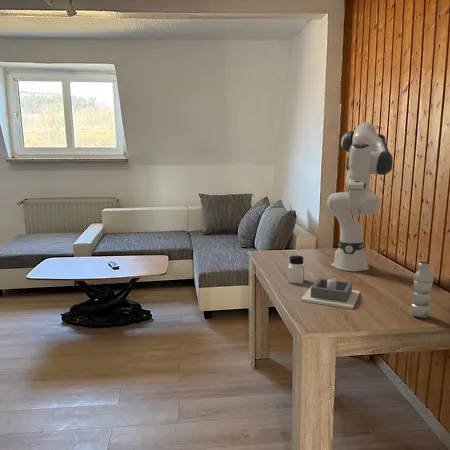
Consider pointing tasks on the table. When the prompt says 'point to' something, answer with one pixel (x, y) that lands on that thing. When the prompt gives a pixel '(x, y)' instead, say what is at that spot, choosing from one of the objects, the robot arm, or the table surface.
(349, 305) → the post stand
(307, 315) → the table surface
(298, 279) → the medicine bottle
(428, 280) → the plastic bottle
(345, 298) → the grey rectangular frame
